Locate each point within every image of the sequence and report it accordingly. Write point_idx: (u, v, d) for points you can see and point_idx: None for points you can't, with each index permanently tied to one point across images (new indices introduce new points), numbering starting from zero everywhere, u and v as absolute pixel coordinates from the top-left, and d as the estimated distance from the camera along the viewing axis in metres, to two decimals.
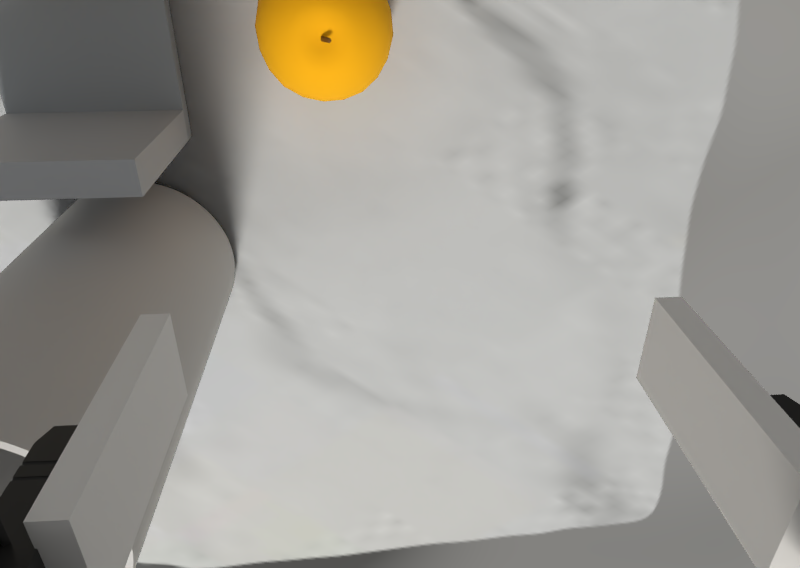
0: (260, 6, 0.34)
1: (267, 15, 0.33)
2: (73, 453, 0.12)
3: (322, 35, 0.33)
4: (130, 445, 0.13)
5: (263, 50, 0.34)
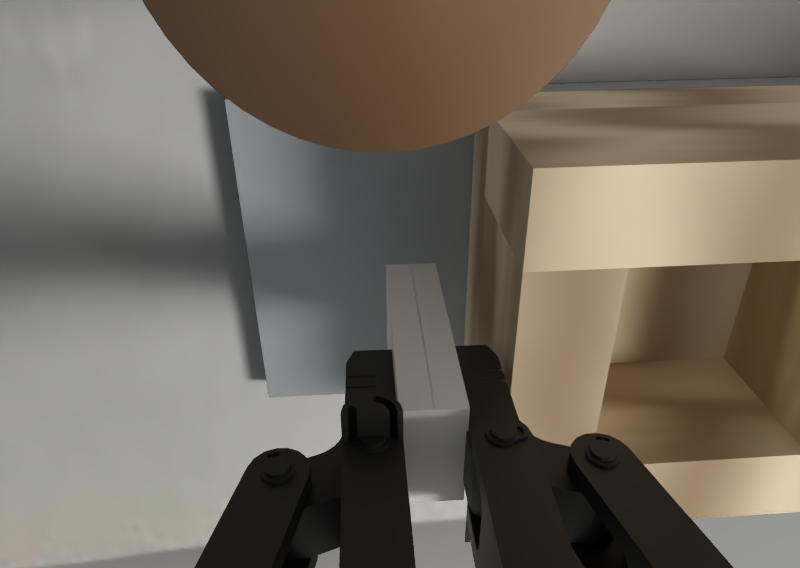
0: None
1: None
2: (404, 365, 0.14)
3: None
4: None
5: None
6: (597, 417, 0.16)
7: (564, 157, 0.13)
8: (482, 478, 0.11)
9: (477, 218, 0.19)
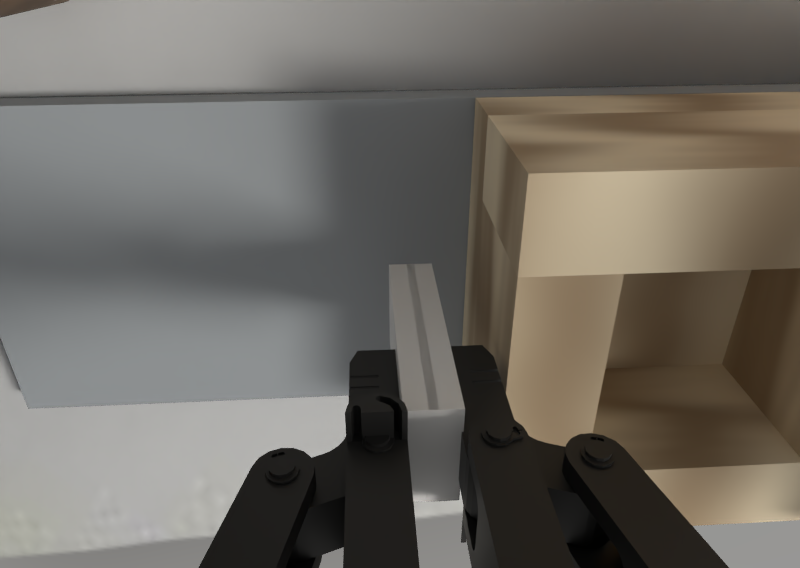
0: None
1: None
2: (408, 364, 0.14)
3: None
4: None
5: None
6: (592, 423, 0.16)
7: (559, 163, 0.13)
8: (478, 478, 0.11)
9: (475, 222, 0.19)
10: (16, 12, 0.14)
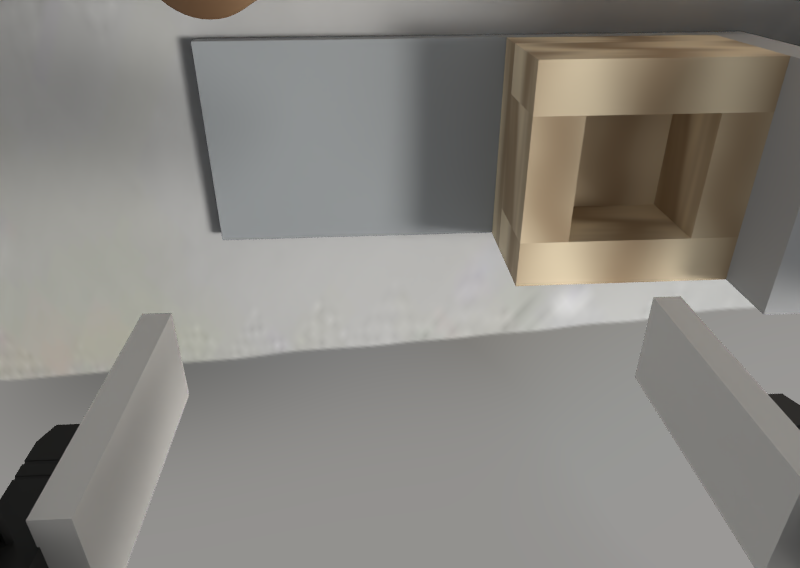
0: None
1: None
2: (75, 452, 0.12)
3: None
4: (132, 444, 0.13)
5: None
6: (572, 207, 0.30)
7: (553, 57, 0.27)
8: None
9: (506, 111, 0.33)
10: None
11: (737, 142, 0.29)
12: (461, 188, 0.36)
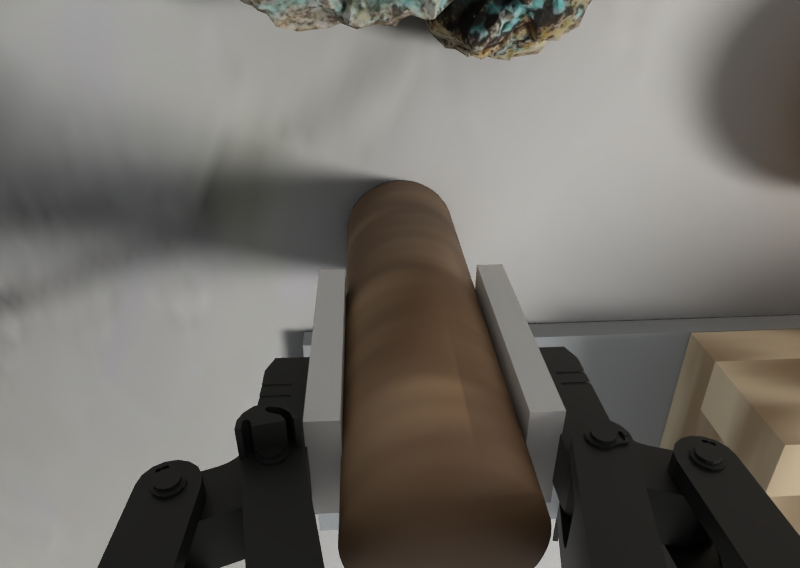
0: None
1: None
2: (317, 373, 0.14)
3: None
4: None
5: None
6: None
7: (798, 431, 0.21)
8: (577, 476, 0.11)
9: (684, 415, 0.26)
10: None
11: None
12: None
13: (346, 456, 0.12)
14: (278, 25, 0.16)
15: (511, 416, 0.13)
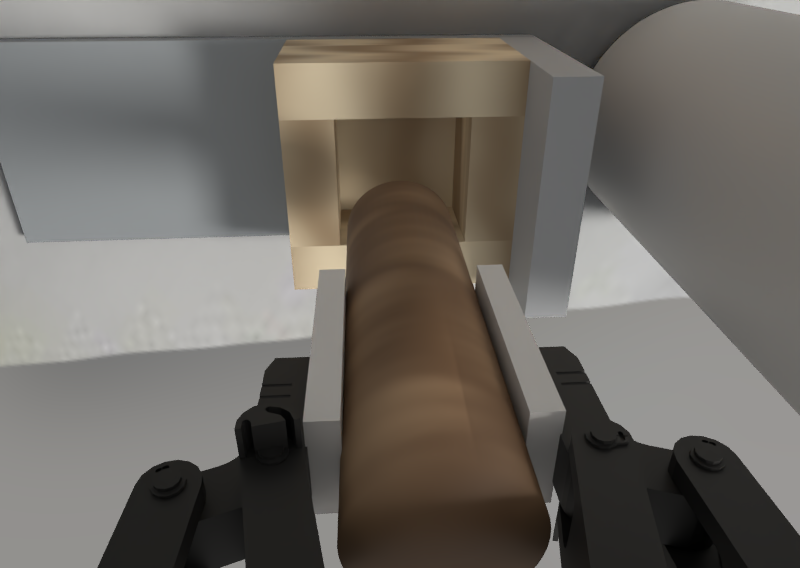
0: None
1: None
2: (317, 373, 0.14)
3: None
4: None
5: None
6: (337, 211, 0.30)
7: (293, 60, 0.27)
8: (577, 476, 0.11)
9: None
10: None
11: (492, 146, 0.29)
12: (265, 191, 0.36)
13: (345, 457, 0.12)
14: None
15: (511, 416, 0.13)
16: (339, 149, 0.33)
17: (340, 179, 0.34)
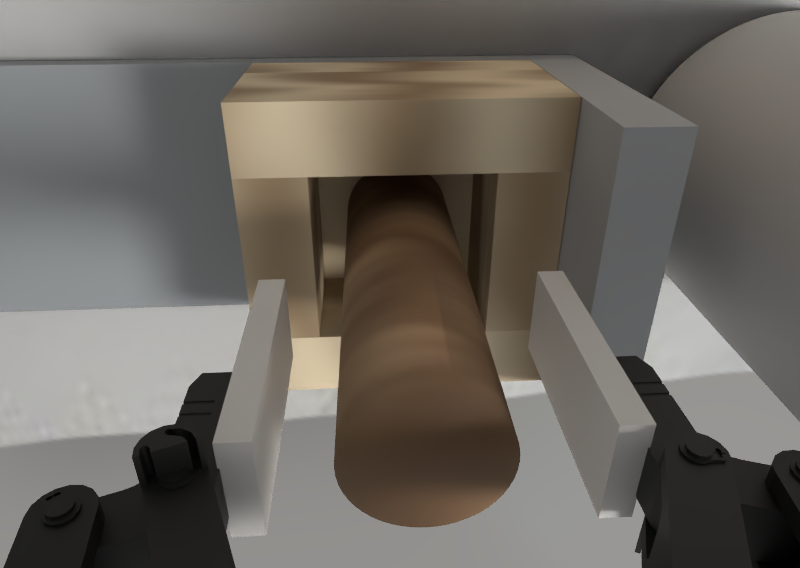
0: None
1: None
2: (237, 391, 0.13)
3: None
4: (272, 390, 0.15)
5: None
6: (314, 295, 0.22)
7: (250, 97, 0.19)
8: (667, 487, 0.11)
9: None
10: None
11: (525, 211, 0.21)
12: (231, 251, 0.28)
13: (342, 393, 0.14)
14: None
15: (488, 360, 0.15)
16: (321, 204, 0.25)
17: (324, 241, 0.26)
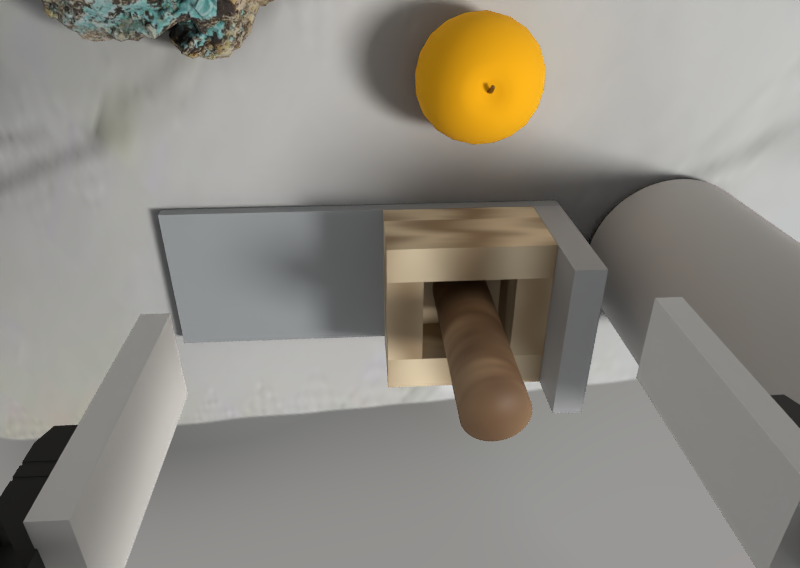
0: (457, 139, 0.39)
1: (466, 136, 0.38)
2: (73, 453, 0.12)
3: (487, 91, 0.35)
4: (130, 445, 0.13)
5: (493, 141, 0.39)
6: (421, 337, 0.43)
7: (398, 245, 0.40)
8: None
9: None
10: None
11: (531, 296, 0.42)
12: (359, 306, 0.49)
13: (459, 386, 0.35)
14: (83, 38, 0.35)
15: (518, 372, 0.35)
16: None
17: None
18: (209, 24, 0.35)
